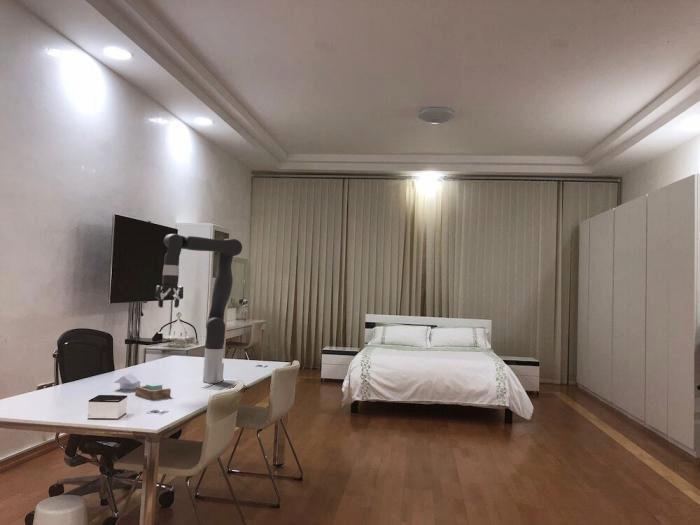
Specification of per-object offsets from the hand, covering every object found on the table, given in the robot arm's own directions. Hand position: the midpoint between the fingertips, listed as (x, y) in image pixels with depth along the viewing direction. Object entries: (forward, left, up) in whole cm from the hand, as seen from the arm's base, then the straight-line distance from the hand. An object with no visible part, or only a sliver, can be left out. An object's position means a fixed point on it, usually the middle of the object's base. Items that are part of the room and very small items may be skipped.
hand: (168, 307), depth 273 cm
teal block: (+16, +18, -38) cm, 45 cm away
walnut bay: (+16, +18, -38) cm, 45 cm away
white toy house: (+16, -4, -38) cm, 42 cm away
